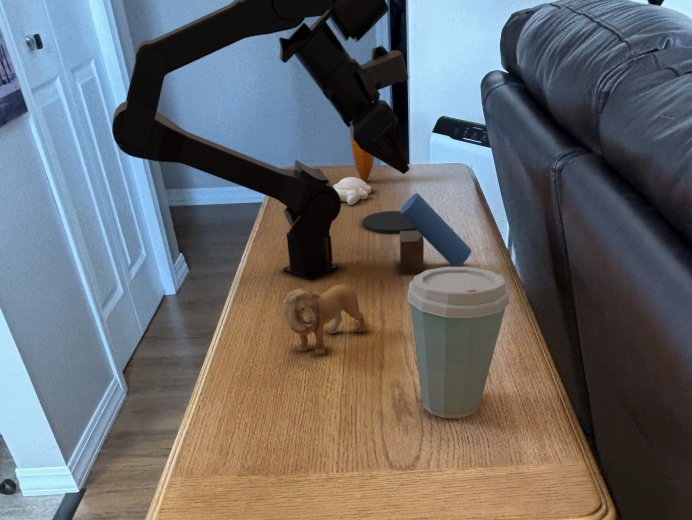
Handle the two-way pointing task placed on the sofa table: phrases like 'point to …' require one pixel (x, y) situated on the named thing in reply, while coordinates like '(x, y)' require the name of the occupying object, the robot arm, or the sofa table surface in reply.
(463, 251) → the tube
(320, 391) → the sofa table surface
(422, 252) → the lean block
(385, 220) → the coaster
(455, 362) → the disposable coffee cup
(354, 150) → the carrot
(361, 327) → the lion figurine
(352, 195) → the white turtle figurine
